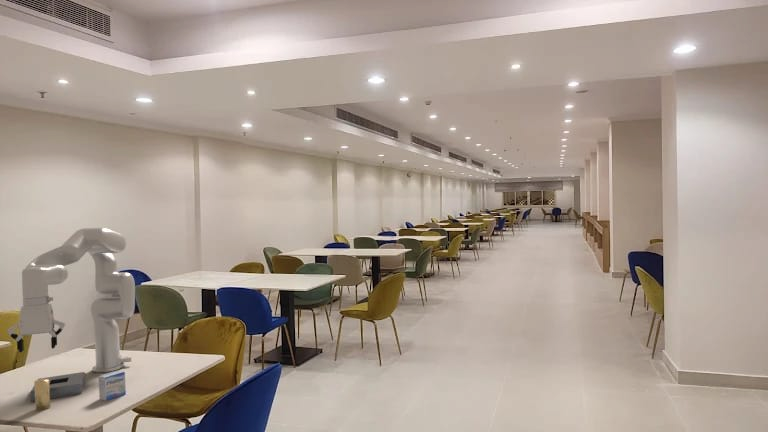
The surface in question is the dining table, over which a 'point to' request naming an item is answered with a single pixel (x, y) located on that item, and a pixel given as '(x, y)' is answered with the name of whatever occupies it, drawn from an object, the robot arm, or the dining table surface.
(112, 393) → the medicine box
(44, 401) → the brass peg
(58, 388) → the socket block
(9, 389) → the dining table surface
